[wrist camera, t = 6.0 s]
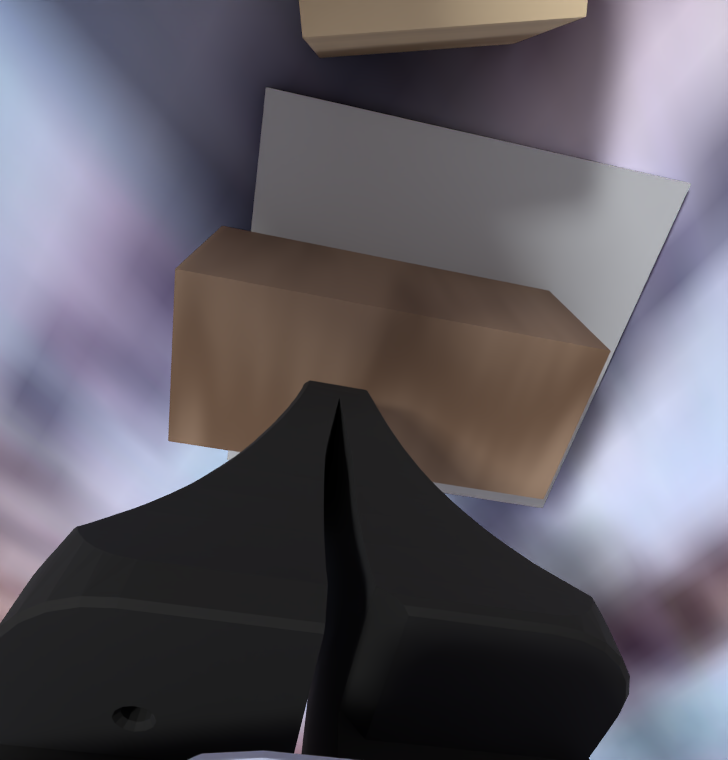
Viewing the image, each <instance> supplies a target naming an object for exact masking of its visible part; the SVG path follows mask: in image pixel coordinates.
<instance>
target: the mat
mask: <svg viewBox="0 0 728 760" xmlns="http://www.w3.org/2000/svg"><path fill="white" fill-rule="evenodd" d="M690 185H691V184H690V183H686V182H682V181H677V180H673V179H669V178H664V177H660V176H655V175H651V174H647V173H642V172H638V171H633V170H629V169H625V168H620V167H616V166H611V165H607V164H603V163H598V162H594V161H589V160H585V159H581V158H576V157H572V156H567V155H563V154H559V153H554V152H550V151H545V150H541V149H537V148H532V147H528V146H523V145H519V144H515V143H510V142H506V141H501V140H497V139H492V138H488V137H484V136H479V135H475V134H470V133H466V132H462V131H457V130H453V129H448V128H444V127H440V126H435V125H431V124H426V123H422V122H418V121H413V120H409V119H404V118H400V117H396V116H391V115H387V114H382V113H378V112H374V111H369V110H365V109H360V108H356V107H352V106H347V105H343V104H338V103H334V102H330V101H325V100H321V99H316V98H312V97H308V96H303V95H299V94H294V93H290V92H286V91H281V90H277V89H272V88H268V87H266V91H265V101H264V110H263V120H262V130H261V139H260V149H259V158H258V168H257V178H256V187H255V197H254V207H253V216H252V226H251V232H256V233H261V234H266V235H271V236H277V237H282V238H287V239H292V240H297V241H302V242H307V243H312V244H317V245H322V246H327V247H332V248H337V249H342V250H347V251H352V252H357V253H362V254H367V255H372V256H377V257H382V258H387V259H392V260H397V261H402V262H407V263H412V264H418V265H423V266H428V267H433V268H438V269H443V270H448V271H453V272H458V273H463V274H468V275H473V276H478V277H483V278H488V279H493V280H498V281H503V282H508V283H513V284H518V285H523V286H528V287H533V288H538V289H543V290H548V291H550V292H551V293H552V294H553V295H554V296H555V297H556V298H557V299H558V300H559V301H560V302H561V303H562V304H563V305H564V306H565V307H566V308H567V309H568V310H570V311H571V312H572V313H573V314H574V315H575V316H576V317H577V318H578V319H579V320H580V321H581V322H582V323H583V324H584V325H585V326H586V327H587V328H588V329H589V330H590V331H591V332H592V333H593V334H594V335H595V336H596V337H597V338H598V339H599V340H600V341H601V342H602V343H603V344H604V345H605V346H606V347H607V348H608V349H609V350H610V351H611V352H610V354H609V356H608V359H607V361H606V363H605V365H604V367H603V370H602V372H601V374H600V376H599V378H598V381H597V383H596V385H595V387H594V389H593V392H592V394H591V396H590V398H589V400H588V403H587V405H586V407H585V409H584V411H583V414H582V416H581V418H580V420H579V422H578V425H577V427H576V429H575V431H574V433H573V436H572V438H571V440H570V442H569V444H568V447H567V449H566V451H565V453H564V455H563V458H562V460H561V462H560V464H559V466H558V469H557V471H556V473H555V475H554V477H553V480H552V482H551V484H550V486H549V488H548V491H547V493H546V495H545V497H544V499H537V498H531V497H524V496H518V495H512V494H505V493H499V492H492V491H486V490H479V489H473V488H467V487H460V486H454V485H447V484H441V483H435V482H433V483H434V484H435V485H436V486H437V487H438V488H439V489H440V490H441V491H442V492H443V493H447V494H454V495H460V496H467V497H473V498H479V499H486V500H492V501H499V502H505V503H512V504H518V505H525V506H531V507H538V508H543V506H544V504H545V502H546V499H547V497H548V495H549V493H550V491H551V488H552V486H553V484H554V482H555V480H556V478H557V475H558V473H559V471H560V469H561V467H562V464H563V462H564V460H565V458H566V456H567V453H568V451H569V449H570V447H571V445H572V443H573V440H574V438H575V436H576V434H577V432H578V429H579V427H580V425H581V423H582V421H583V419H584V416H585V414H586V412H587V410H588V408H589V405H590V403H591V401H592V399H593V397H594V395H595V392H596V390H597V388H598V386H599V384H600V381H601V379H602V377H603V375H604V373H605V371H606V368H607V366H608V364H609V362H610V360H611V357H612V355H613V353H614V351H615V349H616V347H617V344H618V342H619V340H620V338H621V336H622V333H623V331H624V329H625V327H626V325H627V322H628V320H629V318H630V316H631V314H632V312H633V309H634V307H635V305H636V303H637V301H638V298H639V296H640V294H641V292H642V290H643V288H644V285H645V283H646V281H647V279H648V277H649V274H650V272H651V270H652V268H653V266H654V264H655V261H656V259H657V257H658V255H659V253H660V250H661V248H662V246H663V244H664V242H665V240H666V237H667V235H668V233H669V231H670V229H671V226H672V224H673V222H674V220H675V218H676V216H677V213H678V211H679V209H680V207H681V205H682V202H683V200H684V198H685V196H686V194H687V191H688V189H689V187H690ZM239 453H240V452H236V451H230V450H228V458H227V460H230V459H232V458H233V457H235V456H236V455H237V454H239Z"/></svg>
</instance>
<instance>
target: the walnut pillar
mask: <svg viewBox="0 0 728 760" xmlns="http://www.w3.org/2000/svg"><path fill="white" fill-rule="evenodd" d="M610 352H611V351H610V350H609V349H608V348H607V347H606V346H605V345H604V344H603V343H602V342H601V341H600V340H599V339H598V338H597V337H596V336H595V335H594V334H593V333H592V332H591V331H590V330H589V329H588V328H587V327H586V326H585V325H584V324H583V323H582V322H581V321H580V320H579V319H578V318H577V317H576V316H575V315H574V314H573V313H572V312H571V311H570V310H568V309H567V308H566V307H565V306H564V305H563V304H562V303H561V302H560V301H559V300H558V299H557V298H556V297H555V296H554V295H553V294H552V293H551V292H550V291H548V290H543V289H538V288H533V287H528V286H523V285H518V284H513V283H508V282H503V281H498V280H493V279H488V278H483V277H478V276H473V275H468V274H463V273H458V272H453V271H448V270H443V269H438V268H433V267H428V266H423V265H418V264H412V263H407V262H402V261H397V260H392V259H387V258H382V257H377V256H372V255H367V254H362V253H357V252H352V251H347V250H342V249H337V248H332V247H327V246H322V245H317V244H312V243H307V242H302V241H297V240H292V239H287V238H282V237H277V236H271V235H266V234H261V233H256V232H251V231H246V230H241V229H236V228H231V227H226V226H221V227H220V228H219V229H218V230H217V231H216V232H215V233H214V234H213V235H212V236H211V237H209V238H208V239H207V240H206V241H205V242H204V243H203V244H202V245H201V246H200V247H199V248H197V249H196V250H195V251H194V252H193V253H192V254H191V255H190V256H189V257H188V258H187V259H185V260H184V261H183V262H182V263H181V264H180V265H179V266H178V267H177V268H176V269H175V289H174V314H173V338H172V363H171V388H170V412H169V437H168V441H172V442H178V443H185V444H191V445H198V446H204V447H210V448H217V449H223V450H230V451H236V452H241V451H243V450H244V449H245V448H246V447H248V446H249V445H250V444H251V443H253V442H254V441H255V440H256V439H257V438H258V437H259V436H260V435H261V434H262V433H264V432H265V431H266V430H267V429H268V428H269V427H270V426H271V425H272V424H273V423H274V422H275V421H276V420H277V419H278V418H279V417H280V416H281V415H282V413H283V412H284V411H285V410H286V409H287V408H288V407H289V406H290V404H291V403H292V402H293V401H294V399H295V398H296V397H297V395H298V394H299V392H300V391H301V389H302V387H303V384H305V383H306V382H308V381H309V380H311V381H317V382H323V383H329V384H335V385H340V386H346V387H352V388H358V389H364V390H367V391H368V393H369V394H370V396H371V397H372V399H373V401H374V403H375V404H376V406H377V408H378V410H379V411H380V413H381V415H382V416H383V418H384V419H385V421H386V423H387V424H388V426H389V427H390V429H391V430H392V432H393V433H394V435H395V436H396V438H397V439H398V441H399V442H400V444H401V445H402V446H403V448H404V449H405V450H406V452H407V453H408V454H409V455H410V457H411V458H412V459H413V460H414V462H415V463H416V464H417V465H418V467H419V468H420V469H421V470H422V471H423V472H424V473H425V475H426V476H427V477H428V478H429V479H430V480H431V481H432V482H435V483H441V484H447V485H454V486H460V487H467V488H473V489H479V490H486V491H492V492H499V493H505V494H512V495H518V496H524V497H531V498H537V499H544V497H545V495H546V493H547V491H548V488H549V486H550V484H551V482H552V480H553V477H554V475H555V473H556V471H557V469H558V466H559V464H560V462H561V460H562V458H563V455H564V453H565V451H566V449H567V447H568V444H569V442H570V440H571V438H572V436H573V433H574V431H575V429H576V427H577V425H578V422H579V420H580V418H581V416H582V414H583V411H584V409H585V407H586V405H587V403H588V400H589V398H590V396H591V394H592V392H593V389H594V387H595V385H596V383H597V381H598V378H599V376H600V374H601V372H602V370H603V367H604V365H605V363H606V361H607V359H608V356H609V354H610Z"/></svg>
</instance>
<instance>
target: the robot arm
mask: <svg viewBox="0 0 728 760" xmlns="http://www.w3.org/2000/svg"><path fill="white" fill-rule="evenodd" d="M629 679H630V676H629V673H628V671H627V668H626V666H625V663H624V661H623V659H622V656H621V654H620V652H619V650H618V648H617V646H616V643H615V641H614V639H613V637H612V635H611V632H610V630H609V628H608V626H607V624H606V622H605V620H604V618H603V617H602V615H601V613H600V611H599V609H598V607H597V605H596V604H595V602H594V600H593V598H592V597H591V596H589V595H587V594H585V593H584V592H582V591H580V590H579V589H577V588H575V587H573V586H572V585H570V584H568V583H566V582H565V581H563V580H561V579H559V578H558V577H556V576H554V575H552V574H551V573H549V572H547V571H546V570H544V569H542V568H540V567H539V566H537V565H535V564H534V563H532V562H531V561H529V560H528V559H526V558H525V557H523V556H522V555H520V554H519V553H517V552H516V551H514V550H513V549H512V548H510V547H509V546H507V545H506V544H504V543H503V542H501V541H500V540H499V539H497V538H496V537H495V536H493V535H492V534H491V533H489V532H488V531H487V530H485V529H484V528H483V527H482V526H480V525H479V524H478V523H477V522H476V521H474V520H473V519H472V518H471V517H470V516H468V515H467V514H466V513H465V512H463V511H462V510H461V509H460V508H459V507H458V506H457V505H456V504H454V503H453V502H452V501H451V500H450V499H449V498H448V497H447V496H446V495H445V494H444V493H443V492H442V491H441V490H440V489H439V488H438V487H437V486H436V485H435V484H434V483H433V482H432V481H431V480H430V479H429V478H428V477H427V476H426V475H425V473H424V472H423V471H422V470H421V469H420V468H419V467H418V465H417V464H416V463H415V462H414V460H413V459H412V458H411V457H410V455H409V454H408V453H407V452H406V450H405V449H404V448H403V446H402V445H401V444H400V442H399V441H398V439H397V438H396V436H395V435H394V433H393V432H392V430H391V429H390V427H389V426H388V424H387V423H386V421H385V419H384V418H383V416H382V415H381V413H380V411H379V410H378V408H377V406H376V404H375V403H374V401H373V399H372V397H371V396H370V394H369V393H368V391H367V390H364V389H358V388H352V387H346V386H340V385H335V384H329V383H323V382H317V381H311V380H309V381H308V382H306V383H305V384H303V387H302V389H301V391H300V392H299V394H298V395H297V397H296V398H295V399H294V401H293V402H292V403H291V404H290V406H289V407H288V408H287V409H286V410H285V411H284V412H283V413H282V415H281V416H280V417H279V418H278V419H277V420H276V421H275V422H274V423H273V424H272V425H271V426H270V427H269V428H268V429H267V430H266V431H265V432H264V433H262V434H261V435H260V436H259V437H258V438H257V439H256V440H255V441H254V442H253V443H251V444H250V445H249V446H248V447H246V448H245V449H244V450H243V451H241V452H240V453H239V454H237V455H236V456H235V457H233V458H232V459H230V460H229V461H228V462H226V463H225V464H223V465H222V466H220V467H219V468H217V469H215V470H214V471H212V472H210V473H209V474H207V475H206V476H204V477H202V478H201V479H199V480H197V481H195V482H194V483H192V484H190V485H188V486H186V487H184V488H181V489H179V490H177V491H175V492H173V493H171V494H169V495H166V496H164V497H162V498H159V499H157V500H154V501H152V502H150V503H147V504H145V505H142V506H139V507H137V508H134V509H131V510H128V511H125V512H122V513H119V514H116V515H113V516H110V517H107V518H104V519H101V520H98V521H95V522H92V523H88V524H85V525H81V526H78V527H76V528H74V529H73V531H72V532H71V533H70V534H69V535H68V536H67V537H66V538H65V540H64V541H63V542H62V543H61V544H60V545H59V546H58V548H57V549H56V550H55V551H54V552H53V553H52V554H51V555H50V556H49V557H48V559H47V560H46V561H45V562H44V563H43V564H42V566H41V567H40V568H39V569H38V570H37V571H36V573H35V574H34V575H33V577H32V578H31V579H30V581H29V582H28V584H27V585H26V587H25V588H24V589H23V591H22V592H21V594H20V595H19V597H18V598H17V600H16V601H15V603H14V604H13V606H12V607H11V609H10V610H9V611H8V613H7V614H6V616H5V617H4V619H3V620H2V622H1V623H0V760H589V757H590V755H591V754H592V752H593V751H594V750H595V748H596V747H597V745H598V744H599V743H600V741H601V740H602V738H603V737H604V735H605V734H606V733H607V731H608V730H609V728H610V727H611V725H612V724H613V723H614V721H615V720H616V718H617V717H618V715H619V713H620V711H621V709H622V707H623V705H624V703H625V701H626V699H627V697H628V695H629ZM307 699H308V701H307ZM306 703H307V710H306V719H305V728H304V737H303V746H302V754H294V751H295V747H296V743H297V739H298V735H299V731H300V727H301V723H302V719H303V715H304V711H305V707H306Z"/></svg>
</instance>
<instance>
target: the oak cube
mask: <svg viewBox="0 0 728 760" xmlns="http://www.w3.org/2000/svg"><path fill="white" fill-rule="evenodd" d="M587 2H588V0H299V7H300V17H301V27H302V37H303V39H304V40H305V41H306V42H307V43H308V45H309V46H310V47H311V48H312V49H313V51H314V52H315V53H316V54H317V55H318V56H319V58H325V57H339V56H353V55H367V54H380V53H394V52H408V51H422V50H436V49H450V48H463V47H477V46H491V45H505V44H514V43H517V42H520V41H522V40H525V39H528V38H530V37H533V36H536V35H538V34H541V33H544V32H546V31H549V30H552V29H554V28H557V27H560V26H563V25H565V24H568V23H571V22H573V21H576V20H579V19H581V18H584V17H586V12H587Z"/></svg>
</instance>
